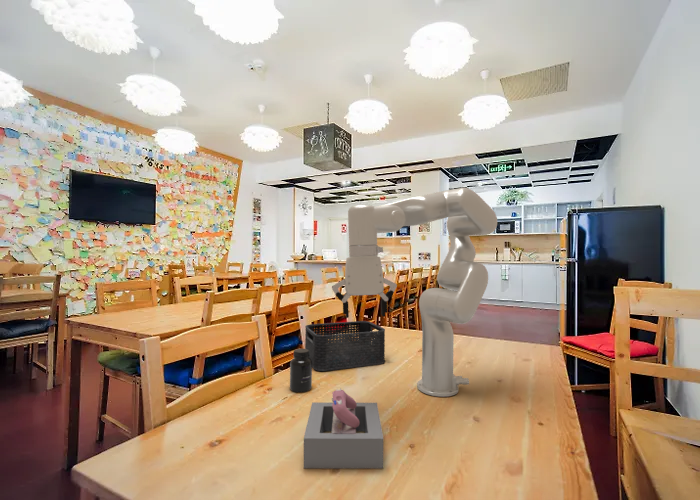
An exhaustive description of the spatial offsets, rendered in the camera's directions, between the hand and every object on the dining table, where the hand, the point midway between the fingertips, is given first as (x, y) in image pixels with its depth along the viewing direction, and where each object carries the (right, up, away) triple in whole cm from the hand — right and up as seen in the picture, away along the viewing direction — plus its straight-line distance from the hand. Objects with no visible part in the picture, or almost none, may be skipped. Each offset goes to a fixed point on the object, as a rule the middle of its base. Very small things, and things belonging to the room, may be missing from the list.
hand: (365, 316), depth 91 cm
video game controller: (-5, -20, -14) cm, 26 cm away
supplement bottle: (-19, -26, +16) cm, 36 cm away
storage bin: (-6, -26, +44) cm, 51 cm away
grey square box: (-5, -26, -15) cm, 30 cm away
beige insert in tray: (-5, -22, -15) cm, 27 cm away
